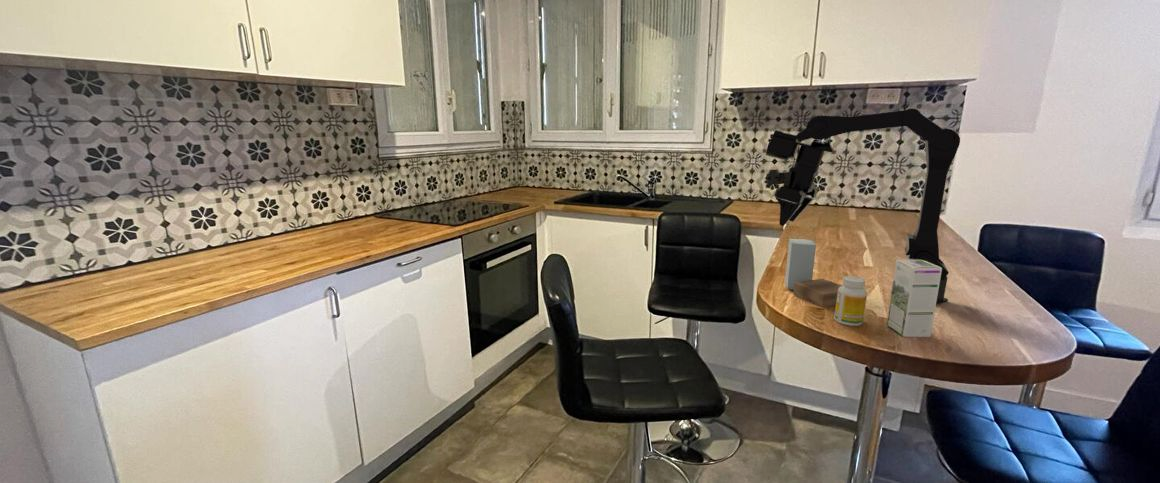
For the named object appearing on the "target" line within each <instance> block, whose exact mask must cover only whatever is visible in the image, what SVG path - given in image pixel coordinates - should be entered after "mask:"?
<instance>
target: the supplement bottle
mask: <svg viewBox="0 0 1160 483" xmlns="http://www.w3.org/2000/svg"><path fill="white" fill-rule="evenodd" d="M865 287H866V279H865V278H863V277H860V276H855V275H845V276H844V277H843V280H842V286H840V287H839V289H838V294H837V301H836V305H835V307H834V308H835V309H834V317H833V318H834V320H835V321H836V322H837V323H839V324H841V325H844V326H849V327H858V326H861V325H863V321H864V317H865V310H866V305H867V298H868V292H867V290H866V289H865Z"/></svg>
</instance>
